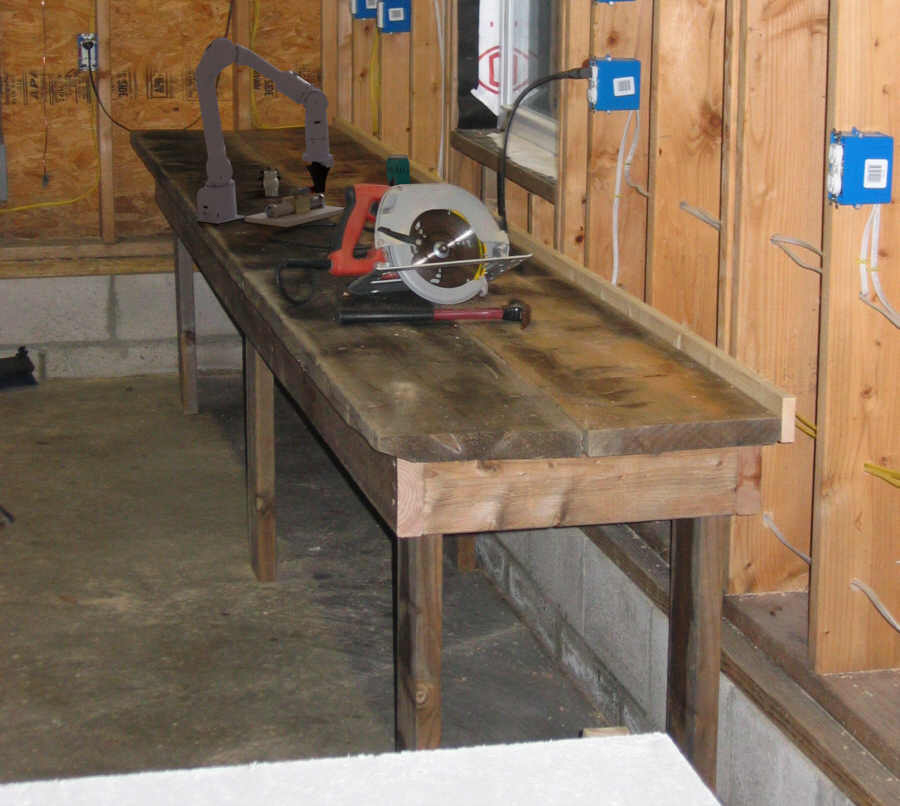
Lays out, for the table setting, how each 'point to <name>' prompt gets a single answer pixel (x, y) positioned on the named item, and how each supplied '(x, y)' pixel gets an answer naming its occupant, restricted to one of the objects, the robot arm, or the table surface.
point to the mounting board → (295, 217)
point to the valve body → (295, 205)
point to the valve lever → (302, 190)
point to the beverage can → (398, 170)
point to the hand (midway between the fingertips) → (319, 192)
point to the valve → (269, 181)
